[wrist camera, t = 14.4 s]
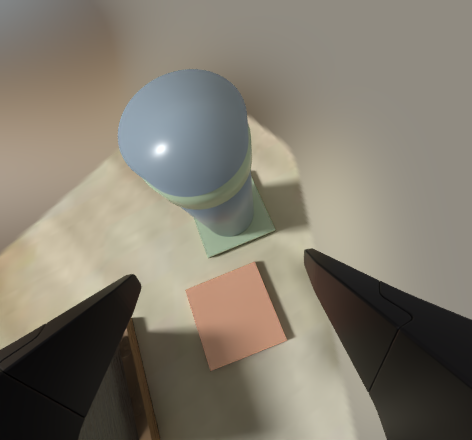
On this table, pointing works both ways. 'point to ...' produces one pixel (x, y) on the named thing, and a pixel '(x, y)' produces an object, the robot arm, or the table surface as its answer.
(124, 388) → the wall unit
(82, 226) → the table surface
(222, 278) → the terracotta pad
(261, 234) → the sage pad
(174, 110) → the cartridge
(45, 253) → the table surface
